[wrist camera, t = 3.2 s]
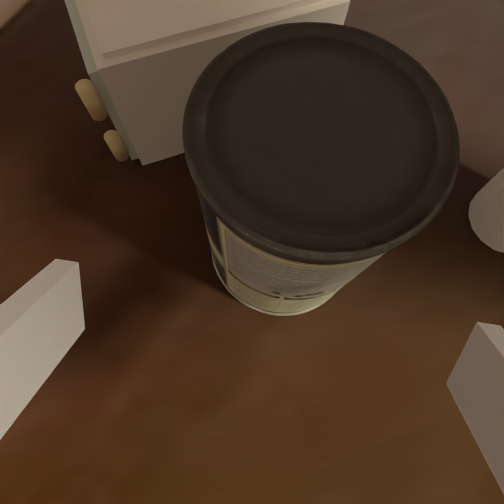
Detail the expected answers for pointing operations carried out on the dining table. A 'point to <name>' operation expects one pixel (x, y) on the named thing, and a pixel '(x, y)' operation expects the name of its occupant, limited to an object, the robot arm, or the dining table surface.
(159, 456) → the dining table surface
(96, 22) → the cabinet
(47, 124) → the dining table surface
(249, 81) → the coffee can
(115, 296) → the dining table surface
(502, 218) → the shot glass
